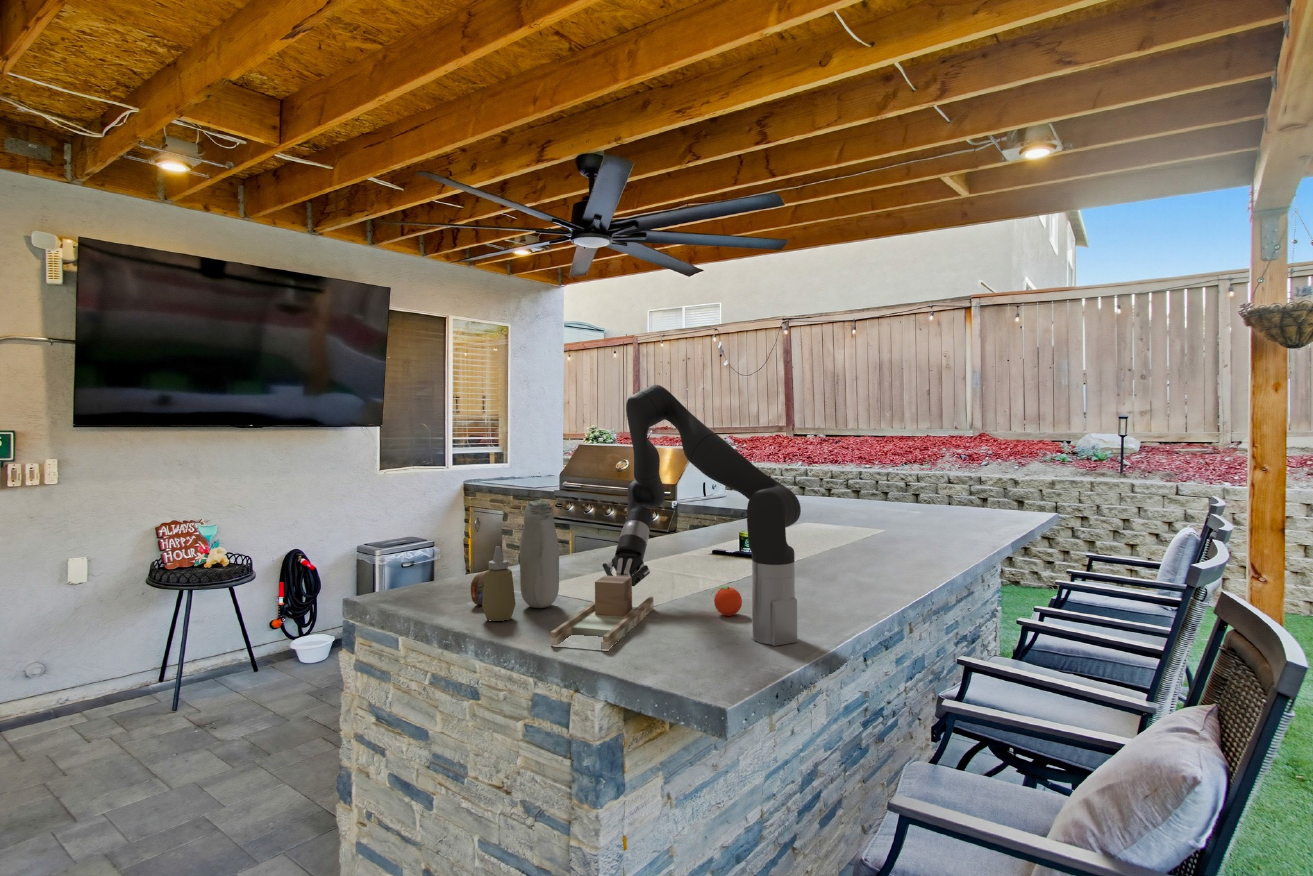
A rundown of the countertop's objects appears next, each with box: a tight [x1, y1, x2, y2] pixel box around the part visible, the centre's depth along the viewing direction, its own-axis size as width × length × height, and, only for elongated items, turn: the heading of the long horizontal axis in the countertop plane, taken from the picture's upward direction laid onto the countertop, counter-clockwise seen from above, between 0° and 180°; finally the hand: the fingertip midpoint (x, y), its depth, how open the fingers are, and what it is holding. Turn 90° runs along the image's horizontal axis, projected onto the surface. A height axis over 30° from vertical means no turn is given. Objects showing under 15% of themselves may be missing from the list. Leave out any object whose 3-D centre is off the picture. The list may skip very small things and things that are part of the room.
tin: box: [470, 570, 487, 606], centre depth 184 cm, size 15×3×8 cm, turn 162°
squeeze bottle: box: [481, 545, 517, 622], centre depth 166 cm, size 8×8×18 cm
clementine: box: [710, 586, 743, 617], centre depth 168 cm, size 8×7×7 cm
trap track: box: [550, 596, 654, 649], centre depth 159 cm, size 34×13×3 cm, turn 164°
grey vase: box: [519, 499, 560, 609], centre depth 177 cm, size 10×10×28 cm
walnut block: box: [594, 575, 633, 617], centre depth 164 cm, size 7×7×8 cm
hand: (618, 598), depth 168 cm, fingers closed
